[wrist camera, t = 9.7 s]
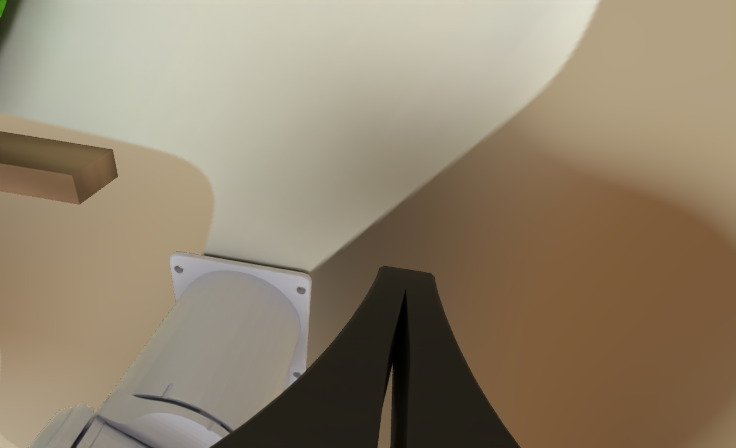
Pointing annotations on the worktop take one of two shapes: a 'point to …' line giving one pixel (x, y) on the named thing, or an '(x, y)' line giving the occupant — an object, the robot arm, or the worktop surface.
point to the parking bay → (53, 168)
